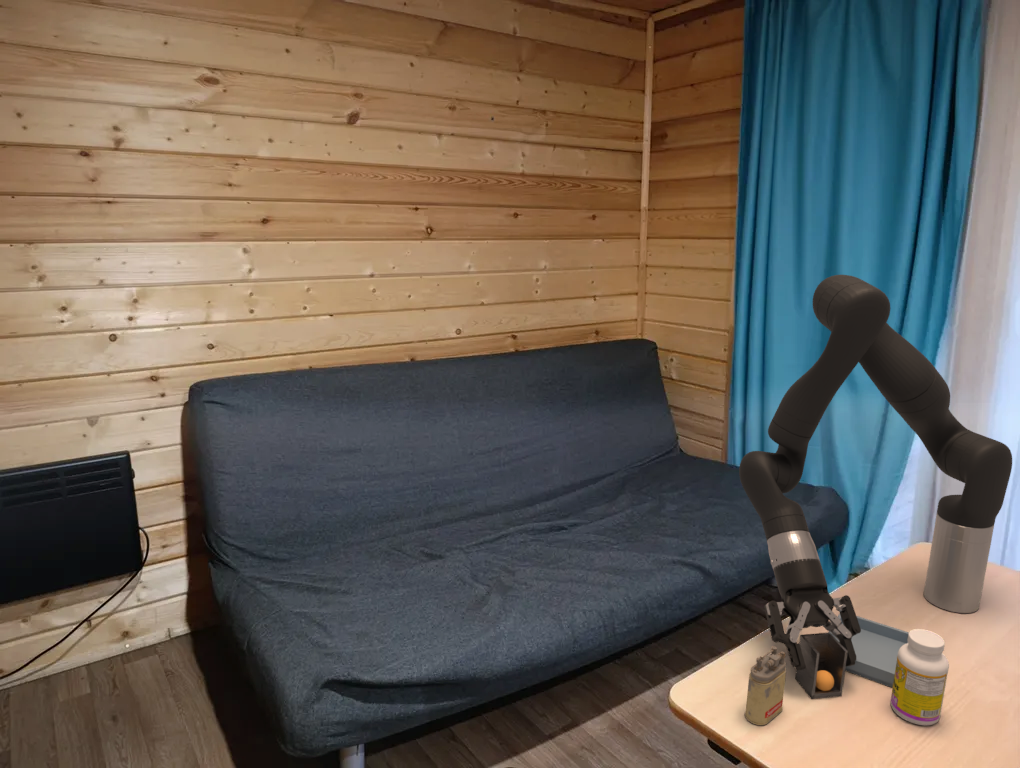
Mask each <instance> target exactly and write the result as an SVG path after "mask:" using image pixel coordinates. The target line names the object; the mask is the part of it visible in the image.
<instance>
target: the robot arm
mask: <svg viewBox="0 0 1020 768" xmlns="http://www.w3.org/2000/svg"><path fill="white" fill-rule="evenodd" d="M890 302H891V301H890V299H889V297H888V296H887V295H886V293H885V292H884V291H882V290H881V289H879V288H878V287H876V286H874V285H872V284H871V283H869V282H867V281H865V280H863V279H862V278H859V277H857V276H853V275H847V274H835V275H831V276H829V277H826V278H824V279H823V280H822V281H821V282H819V284H818V285H817V286H816V288H815V290H814V293H813V295H812V309H813V313H814V316H815V318H816V319H817V320H818V322H819V323H821V325H823V327H825V328H826V329H827V330H828V331H830V332H831V333H830V335H829V337H828V341H827V343H826V346H825V347H824V349H823V352H822V353H821V354H820V356H819V358H818V359H817V361H816V362H815V363H814V364H813V365H812V366H811V367H810V368H809V369H808V370H807V371H806V372H805V373H803V374H802V375H801V376H800V377H799V378H798V379H797V380H796V381H795V382H794V383H793V384H792V385H790V387H789V388H787V391H786V392H785V394H784V395H783V397H782V399H781V400H780V402H779V404H778V407H777V409H776V410H775V412H774V415H773V417H772V419H771V421H770V423H769V425H768V428H767V435H768V436H769V438H770V439H771V440H772V441H773V442H774V443H775V444H777V445H778V447H777V449H776V452H768V451H762V450H751V451H749V452H748V453H746V454H745V455H744V456H743V457H742V459H741V461H740V463H739V469H738V471H739V472H738V473H739V481H740V484H741V485H742V488H743V490H744V492H745V494H746V496H747V497H748V499H749V501H750V503H751V504H752V506H753V508H754V510H755V511H756V513H757V515H758V516H759V518H760V520H761V524H762V528H763V532H764V535H765V538H766V543H767V548H768V555H769V556H768V557H769V559H770V565H771V568H772V571H773V574H774V578H775V581H776V585H777V589H778V592H779V595H780V597H781V601H776V600H771V601H769V602H768V603H766V604H765V605H764V607H763V609H764V611H765V616H766V617H765V618H766V621H767V625H768V629H769V633H770V637H771V641H773V642H774V643H779V644H783V645H784V646H785V648H786V651H787V655H788V658H789V662H790V665H791V666H792V667H794V669H795V671H796V670H803V669H805V668H806V666H805V662H804V658H803V655H802V651H801V647H800V644H799V642H798V639H799V638H800V635H801V634H800V633H801V631H802V630H803V629H807V628H809V627H813V628H821V627H823V628H824V629H825V630H826V631H827V632H829V631H830V632H831V633H832V634H833V635H834V636H835V637H836V638H837V639H838V640H839V641H840V642H839V643H840V644H841V645H842V646H843V647H844V648H845V649H846V650H847V651H848V653H847V661H846V666H852V665H855V661H856V654H855V650H854V647H853V644H852V641H851V639H852V637H853V636H854V635H856V634H858V633H860V632H861V628H860V625H859V622H858V620H857V617H856V616H857V614H856V611H855V608H854V605H853V601H852V599H851V597H850V596H849V595H846V594H845V595H843V596H841V597H832V596H831V595H830V593H829V590H828V583H827V580H826V575H825V574H824V570H823V567H822V563H821V560H820V557H819V553H818V551H817V547H816V544H815V542H814V540H813V538H812V536H811V533H810V529H809V527H808V523H807V519H806V517H805V513H804V511H803V508H802V506H801V505H800V504H799V502H797V501H795V500H793V499H790V498H788V497H787V496H786V495H784V494H787V493H789V492H791V491H792V490H794V489H795V488H796V487H797V485H798V484H799V483H800V481H801V479H802V476H803V475H804V474H803V473H804V467H805V463H806V457H807V454H808V447H809V443H810V440H811V439H812V437H813V435H814V433H815V431H816V429H817V428H818V426H819V424H820V422H821V420H822V418H823V416H824V414H825V412H826V410H827V409H828V407H829V405H830V403H831V402H832V400H833V398H834V397H835V396H836V394H837V392H838V391H839V390H840V389H841V387H842V385H843V384H844V383H845V381H846V380H847V378H848V377H849V376H850V374H851V373H852V372H853V371H854V369H855V368H856V367H857V365H858V364H860V366H861V368H862V369H863V370H864V373H866V375H867V376H868V378H869V379H870V380H871V381H872V383H873V384H874V385H875V387H876V388H877V389H878V391H879V393H880V394H881V396H883V397H884V399H886V401H887V402H888V404H889V405H890V406H891V407H892V408H893V409H894V411H895V412H896V413H897V414H899V416H900V417H901V418H902V419H903V420H904V422H905V423H906V424H907V425H908V427H909V428H910V429H911V430H912V431H913V432H914V433H915V434H916V435H917V437H919V439H920V441H921V442H922V443H923V445H924V447H925V449H926V451H928V454H929V455H930V456H931V458H932V461H933V462H934V464H935V465H936V466H937V467H938V469H939V470H940V471H941V472H942V473H943V474H945V475H946V476H948V477H950V478H952V479H953V480H954V479H955V480H956V481H959V482H962V483H963V484H964V486H963V490H962V494H949V495H945V496H942V497H941V498H940V499H938V500H939V501H938V503H937V509H936V516H935V522H934V529H933V535H932V542H931V547H930V551H929V553H930V554H929V558H928V563H927V564H928V566H927V571H926V577H925V583H924V588H923V589H924V590H923V597H924V598H925V599H926V600H927V601H928V602H929V603H930V604H932V605H934V606H935V607H937V608H940V609H943V610H945V611H948V612H952V613H959V614H970V613H971V614H972V613H974V612H976V611H978V610H979V608H980V604H981V599H982V593H983V588H984V583H985V578H986V573H987V567H988V561H989V556H990V550H991V546H992V539H993V533H994V529H995V523H996V519H997V516H998V515H999V513H1000V511H1001V510H1002V507H1003V505H1004V502H1005V501H1004V500H1005V496H1006V493H1007V489H1008V487H1009V486H1008V485H1009V481H1010V479H1011V478H1010V477H1011V474H1012V468H1013V454H1012V452H1011V449H1010V448H1009V447H1008V446H1007V444H1005V443H1003V442H1001V441H1000V440H996V439H994V438H990V437H989V436H985V435H982V434H979V433H977V432H974V431H973V430H970V429H968V428H966V427H965V426H964V425H963V424H962V423H961V422H960V421H959V420H958V419H957V418H956V417H955V416H954V415H953V413H952V412H951V411H950V405H951V392H950V387H949V386H948V384H947V382H946V380H945V379H944V378H943V376H942V375H941V373H940V372H939V371H938V370H937V368H936V367H935V366H934V365H933V363H932V362H931V361H930V360H929V359H928V357H926V356H925V355H924V354H923V353H922V352H921V351H919V349H917V348H916V347H915V346H914V345H913V344H912V343H911V342H910V341H908V340H907V339H906V338H905V337H903V336H902V335H901V334H900V333H898V332H897V331H896V330H895V329H894V328H892V327H891V326H890V325H889V324H888V323H887V322H888V320H889V317H890V314H891V303H890ZM834 608H835V610H836V611H838V612H839V613H840V615H841V618H842V621H843V624H842V621H841V620H840V619H839V618H838V615H836V614H835V612H833V609H834ZM783 612H784V613H785V614H786V615H787V616H788V617H789V620H788V623H787V626H786V628H785V629H786V631H785V629H784V624H783V621H782V617H781V616H782V614H783Z"/></svg>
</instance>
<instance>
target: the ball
mask: <svg viewBox="0 0 1020 768" xmlns="http://www.w3.org/2000/svg"><path fill="white" fill-rule="evenodd" d="M833 686H834V678H833V676H832V675H831V674H830V673H829V672H827V671H825V670H820V671H818V672H817V678H816V687H817V688H818V689H820V690H822V691H828V690H830V689H832V688H833Z"/></svg>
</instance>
